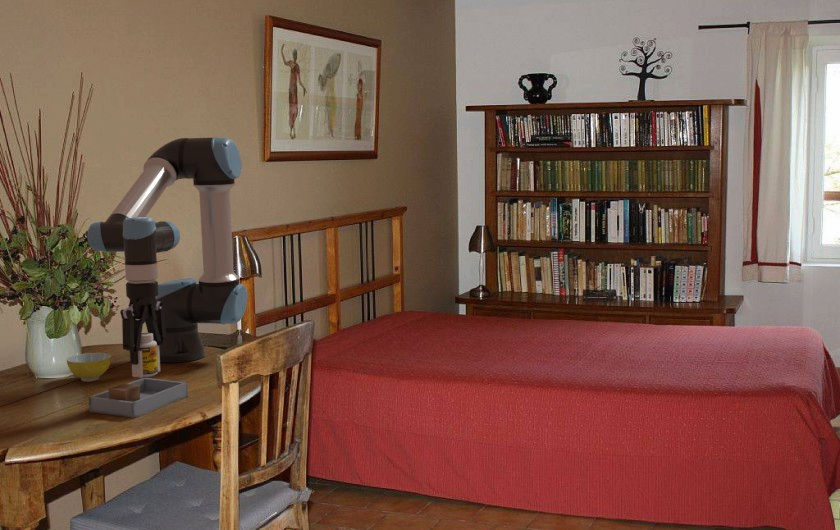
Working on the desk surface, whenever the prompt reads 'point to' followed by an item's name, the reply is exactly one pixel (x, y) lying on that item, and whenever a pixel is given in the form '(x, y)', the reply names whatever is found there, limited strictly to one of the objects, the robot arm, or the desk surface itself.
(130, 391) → the walnut cube
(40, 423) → the desk surface
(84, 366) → the bowl
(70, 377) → the desk surface
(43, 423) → the desk surface
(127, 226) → the robot arm
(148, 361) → the supplement bottle
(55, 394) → the desk surface
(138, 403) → the tray
